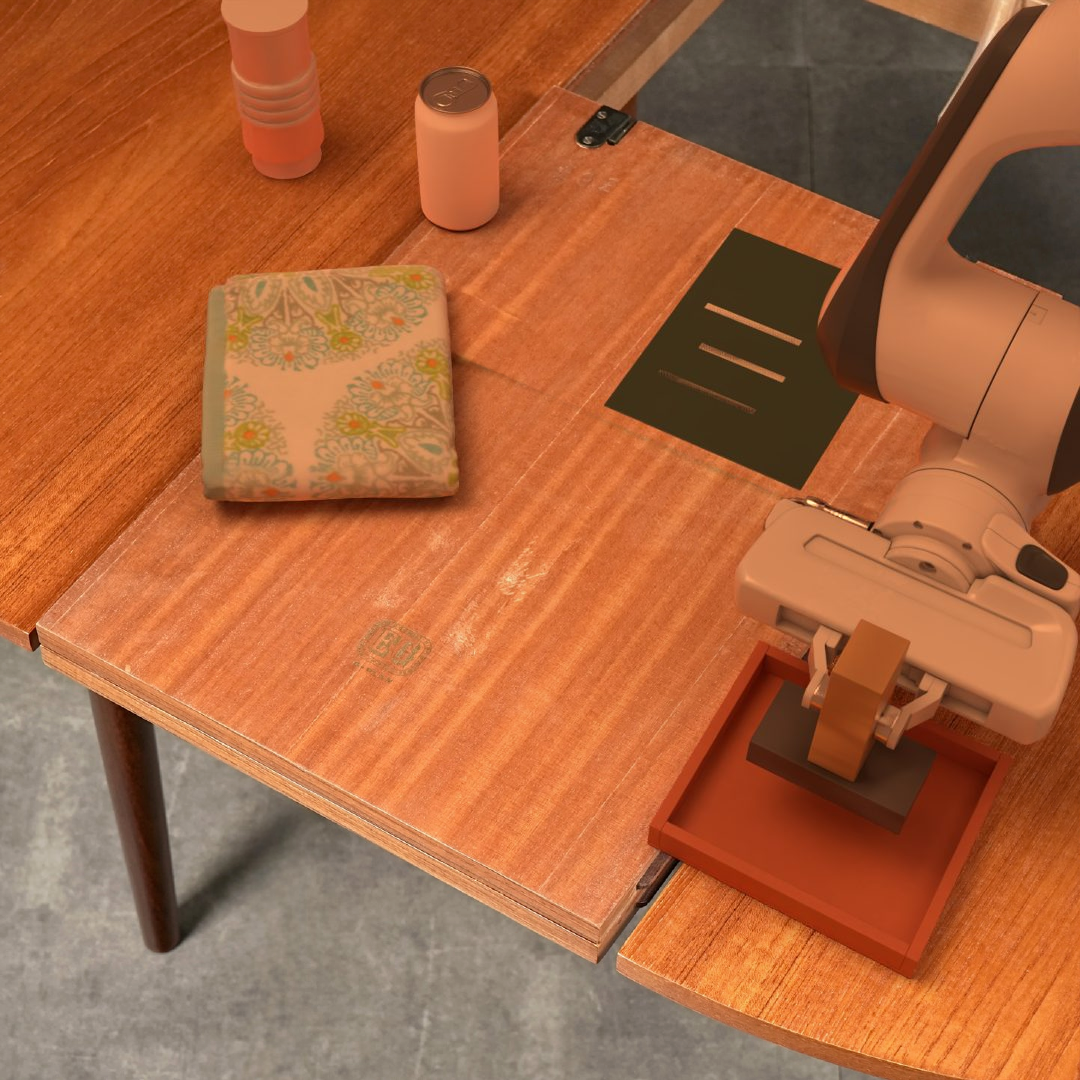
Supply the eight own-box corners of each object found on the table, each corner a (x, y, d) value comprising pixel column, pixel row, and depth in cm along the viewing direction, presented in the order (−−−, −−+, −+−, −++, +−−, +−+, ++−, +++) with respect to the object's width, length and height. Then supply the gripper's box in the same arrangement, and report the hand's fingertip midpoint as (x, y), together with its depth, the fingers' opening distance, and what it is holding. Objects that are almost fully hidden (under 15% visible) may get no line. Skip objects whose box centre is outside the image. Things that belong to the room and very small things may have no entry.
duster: (930, 770, 102) (974, 661, 92) (898, 836, 100) (939, 730, 90) (780, 698, 105) (807, 585, 95) (745, 760, 103) (768, 650, 93)
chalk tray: (1005, 776, 108) (1013, 757, 106) (910, 979, 100) (918, 962, 98) (755, 660, 114) (759, 639, 111) (646, 843, 105) (649, 825, 103)
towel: (449, 295, 134) (446, 247, 130) (461, 508, 121) (458, 463, 117) (217, 306, 133) (206, 259, 129) (204, 522, 120) (192, 477, 116)
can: (404, 209, 139) (395, 91, 130) (457, 169, 142) (451, 51, 133) (463, 245, 137) (458, 128, 127) (515, 203, 140) (514, 85, 130)
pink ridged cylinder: (300, 117, 146) (280, -33, 134) (342, 162, 143) (325, 11, 131) (230, 148, 144) (203, -3, 132) (271, 194, 140) (247, 44, 128)
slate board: (916, 309, 133) (919, 298, 132) (798, 501, 122) (800, 490, 121) (732, 237, 138) (734, 226, 137) (602, 415, 126) (602, 405, 125)
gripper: (792, 454, 104) (690, 615, 97) (1113, 592, 99) (1029, 775, 91) (780, 516, 110) (682, 673, 102) (1084, 651, 104) (1002, 828, 96)
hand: (848, 723), depth 97 cm, fingers closed on duster, 3 cm apart
